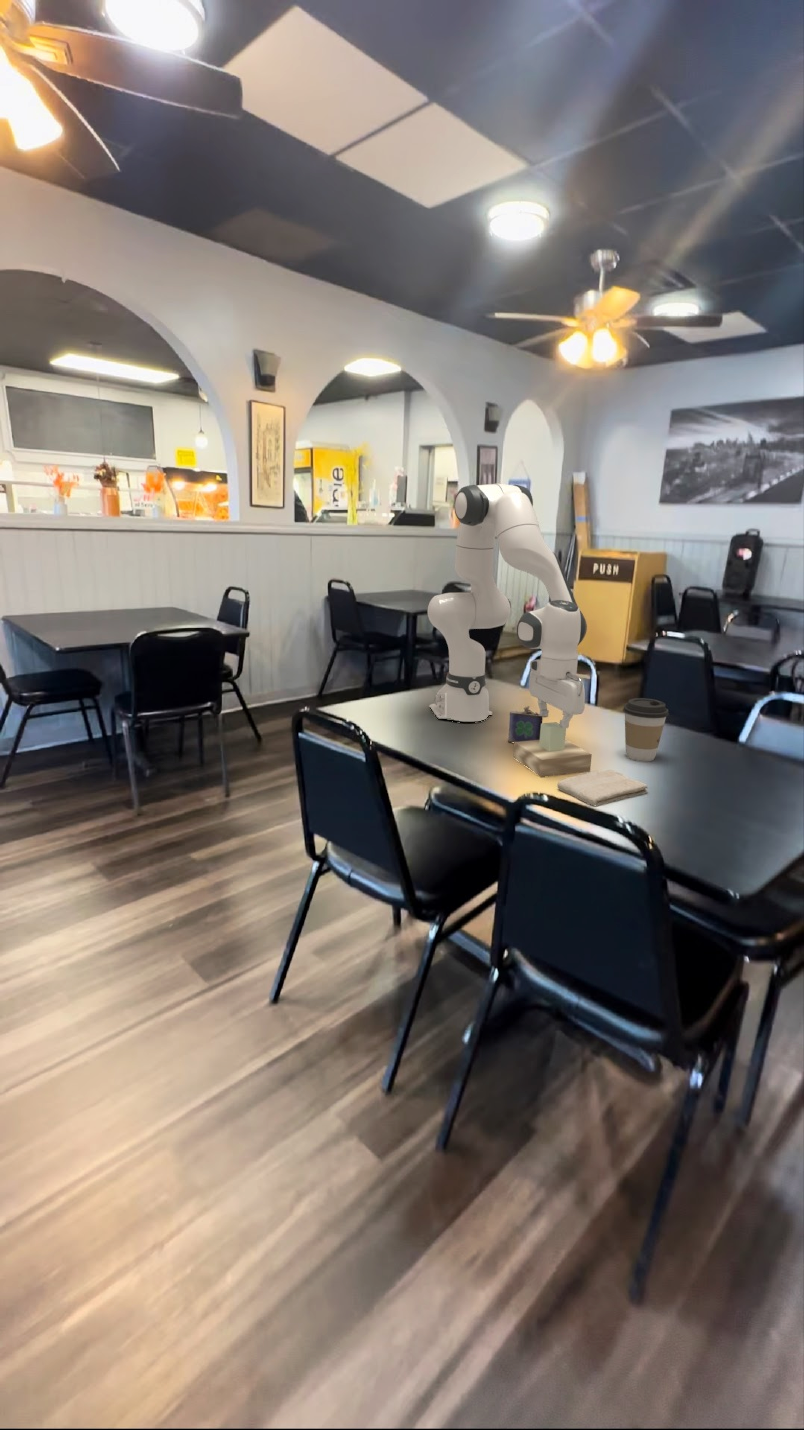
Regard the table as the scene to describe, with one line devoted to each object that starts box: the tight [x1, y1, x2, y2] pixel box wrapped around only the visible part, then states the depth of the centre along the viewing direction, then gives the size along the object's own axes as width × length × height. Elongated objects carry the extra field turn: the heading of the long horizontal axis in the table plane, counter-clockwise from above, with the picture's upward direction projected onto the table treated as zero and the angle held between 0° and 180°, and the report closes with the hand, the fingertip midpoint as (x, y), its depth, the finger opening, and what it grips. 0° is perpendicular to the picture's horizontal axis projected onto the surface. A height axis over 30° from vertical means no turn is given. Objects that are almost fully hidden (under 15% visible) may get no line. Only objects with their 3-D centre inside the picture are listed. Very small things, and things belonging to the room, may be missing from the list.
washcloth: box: [556, 769, 648, 807], centre depth 154 cm, size 12×18×3 cm, turn 121°
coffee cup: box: [622, 697, 670, 763], centre depth 175 cm, size 11×11×15 cm
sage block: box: [539, 721, 567, 751], centre depth 168 cm, size 4×4×6 cm
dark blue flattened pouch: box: [507, 705, 544, 743], centre depth 185 cm, size 9×3×11 cm, turn 65°
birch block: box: [513, 739, 593, 778], centre depth 170 cm, size 14×14×5 cm
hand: (553, 722), depth 168 cm, fingers open, 8 cm apart
